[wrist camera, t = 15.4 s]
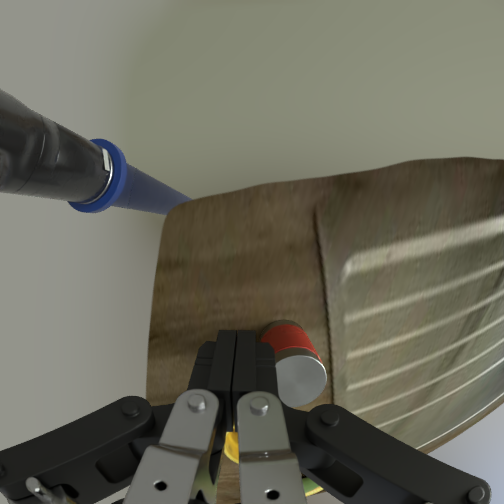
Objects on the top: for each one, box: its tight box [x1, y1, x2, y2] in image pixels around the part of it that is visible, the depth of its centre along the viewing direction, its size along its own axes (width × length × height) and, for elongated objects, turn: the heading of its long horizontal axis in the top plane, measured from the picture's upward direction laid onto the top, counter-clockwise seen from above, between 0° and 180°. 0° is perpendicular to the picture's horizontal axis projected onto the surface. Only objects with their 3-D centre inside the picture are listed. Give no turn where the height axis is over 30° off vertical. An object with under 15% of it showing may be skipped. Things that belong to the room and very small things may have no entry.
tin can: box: [259, 320, 327, 407], centre depth 32 cm, size 7×7×12 cm
